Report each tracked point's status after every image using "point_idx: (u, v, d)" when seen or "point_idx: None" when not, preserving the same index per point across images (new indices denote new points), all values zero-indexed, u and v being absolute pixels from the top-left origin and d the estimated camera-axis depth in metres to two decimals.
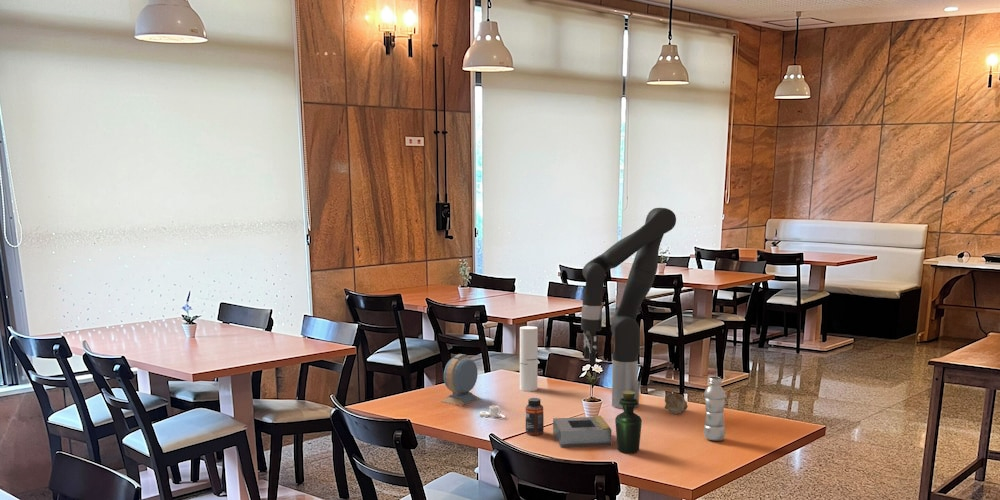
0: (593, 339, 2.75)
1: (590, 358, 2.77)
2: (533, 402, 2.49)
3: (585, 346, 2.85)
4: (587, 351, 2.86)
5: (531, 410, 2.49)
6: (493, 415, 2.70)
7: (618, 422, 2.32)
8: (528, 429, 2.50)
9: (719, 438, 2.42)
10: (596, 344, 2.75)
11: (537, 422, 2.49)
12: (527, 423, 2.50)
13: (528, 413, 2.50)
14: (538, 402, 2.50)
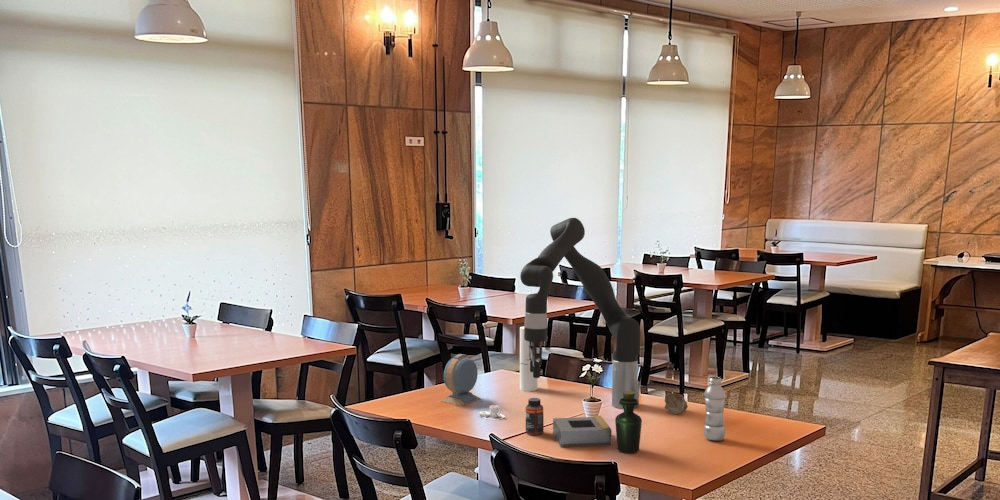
0: (536, 351, 2.45)
1: (534, 372, 2.48)
2: (533, 402, 2.50)
3: (530, 358, 2.56)
4: (533, 364, 2.57)
5: (531, 410, 2.49)
6: (493, 415, 2.70)
7: (618, 422, 2.32)
8: (528, 429, 2.50)
9: (719, 438, 2.42)
10: (539, 356, 2.46)
11: (537, 422, 2.49)
12: (527, 423, 2.50)
13: (528, 413, 2.50)
14: (538, 402, 2.50)
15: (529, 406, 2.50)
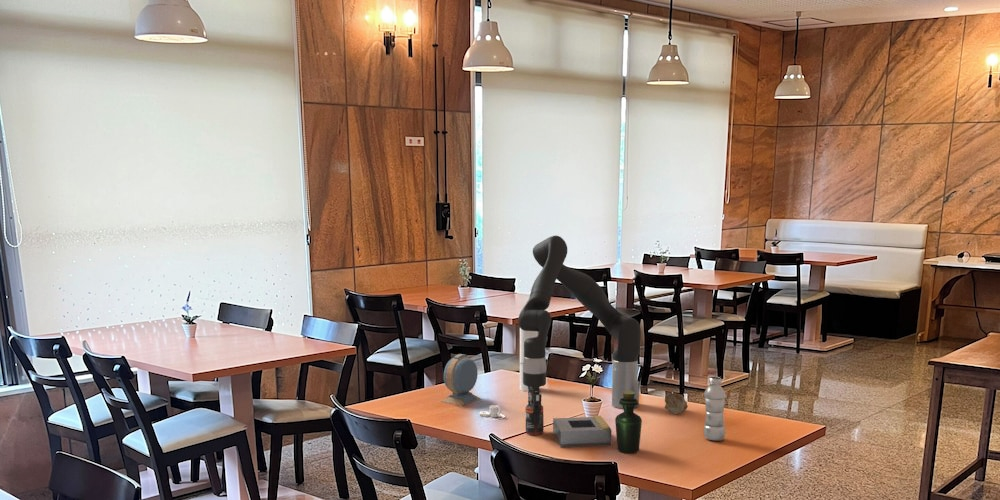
0: (535, 399, 2.45)
1: (533, 418, 2.48)
2: None
3: None
4: None
5: (531, 410, 2.49)
6: (493, 415, 2.70)
7: (618, 422, 2.32)
8: (528, 429, 2.50)
9: (719, 438, 2.42)
10: (539, 404, 2.45)
11: None
12: (527, 423, 2.50)
13: (528, 413, 2.50)
14: None
15: (529, 406, 2.50)
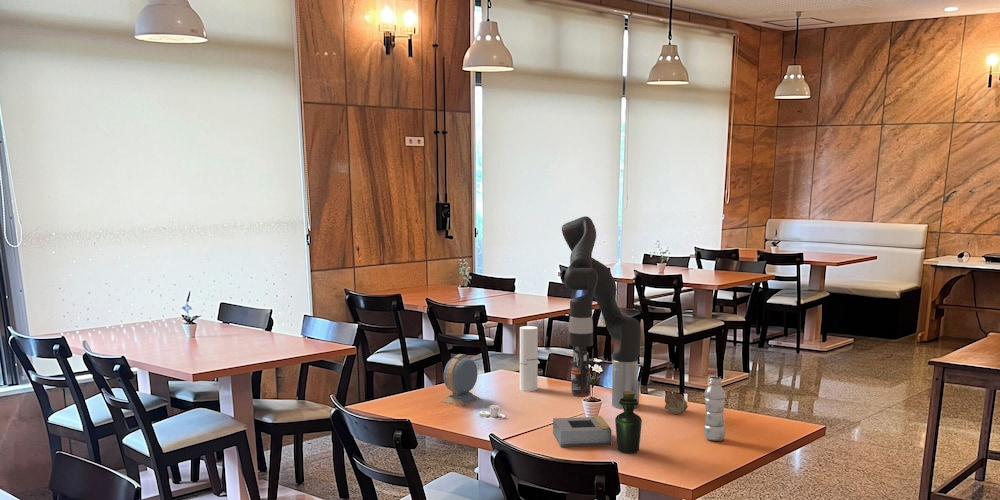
0: (583, 359, 2.37)
1: (580, 379, 2.41)
2: None
3: None
4: None
5: (577, 371, 2.42)
6: (493, 415, 2.70)
7: (618, 422, 2.32)
8: (575, 391, 2.43)
9: (719, 438, 2.42)
10: (586, 364, 2.38)
11: None
12: (573, 385, 2.43)
13: (574, 374, 2.42)
14: None
15: (575, 367, 2.43)
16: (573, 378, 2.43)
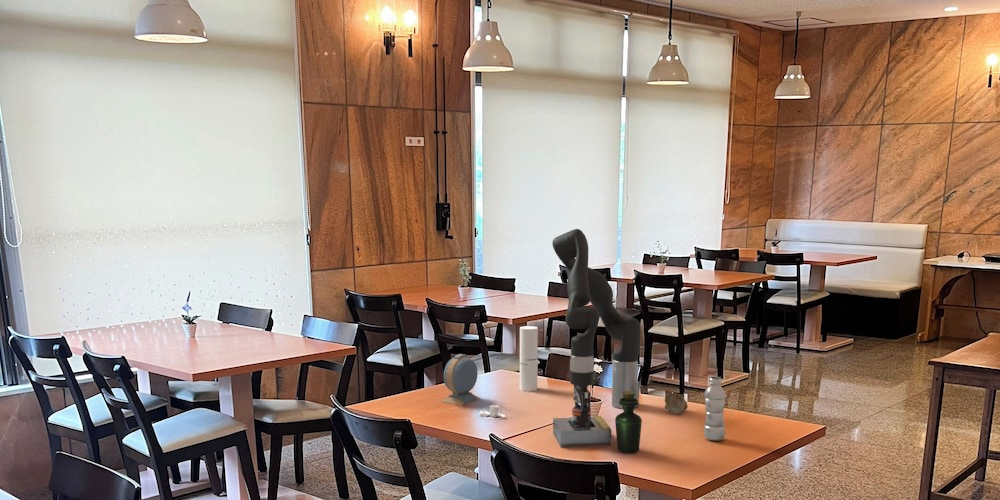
0: (584, 396, 2.38)
1: (582, 417, 2.40)
2: None
3: None
4: None
5: (578, 412, 2.42)
6: (493, 415, 2.70)
7: (618, 422, 2.32)
8: None
9: (719, 438, 2.42)
10: (588, 401, 2.38)
11: (584, 425, 2.43)
12: (574, 426, 2.44)
13: (575, 415, 2.43)
14: None
15: (576, 408, 2.44)
16: (574, 419, 2.44)
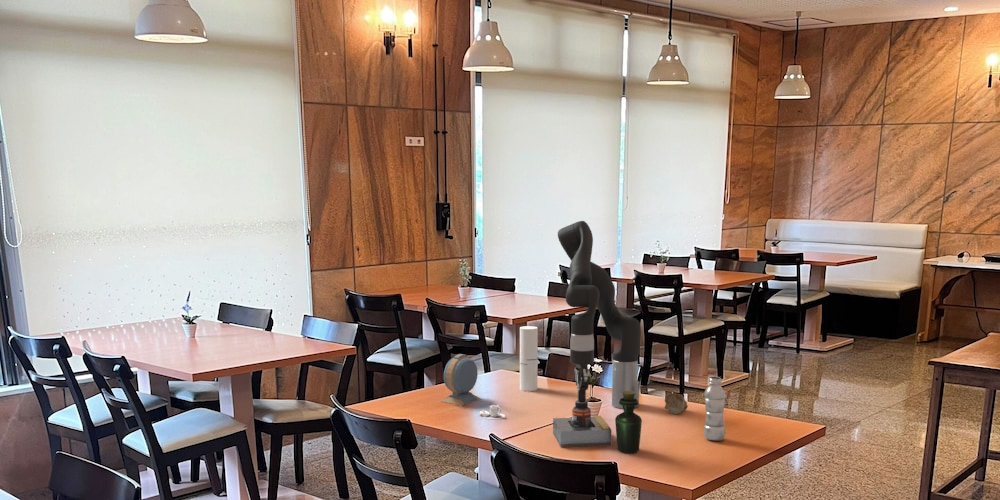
0: (583, 381, 2.39)
1: (579, 396, 2.44)
2: (580, 404, 2.43)
3: None
4: None
5: (578, 412, 2.42)
6: (493, 414, 2.70)
7: (618, 422, 2.32)
8: None
9: (719, 438, 2.42)
10: (586, 384, 2.40)
11: (584, 425, 2.43)
12: (574, 426, 2.44)
13: (575, 415, 2.43)
14: (585, 404, 2.43)
15: (576, 408, 2.44)
16: (574, 419, 2.44)
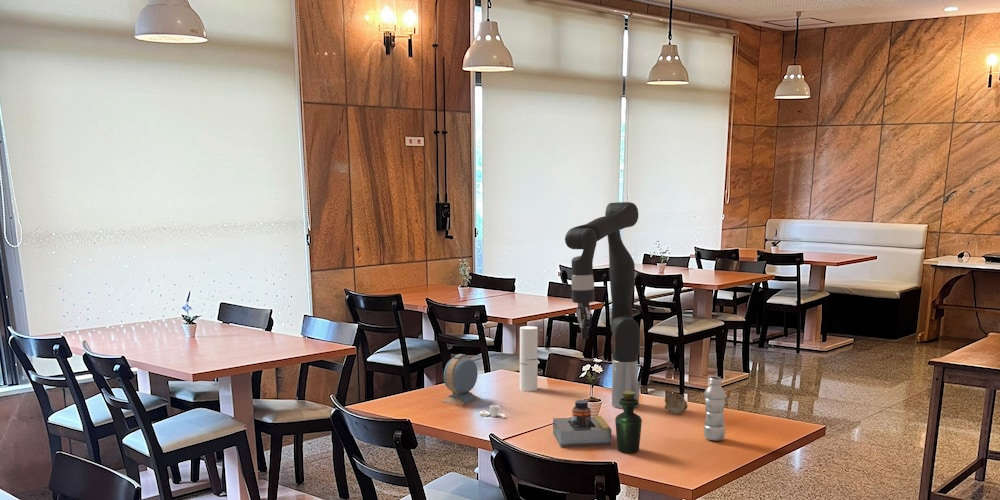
0: (586, 318, 2.52)
1: (582, 334, 2.57)
2: (580, 404, 2.43)
3: None
4: None
5: (578, 412, 2.42)
6: (493, 414, 2.70)
7: (618, 422, 2.32)
8: None
9: (719, 438, 2.42)
10: (589, 321, 2.53)
11: (584, 425, 2.43)
12: (574, 426, 2.44)
13: (575, 415, 2.43)
14: (585, 404, 2.43)
15: (576, 408, 2.44)
16: (574, 419, 2.44)
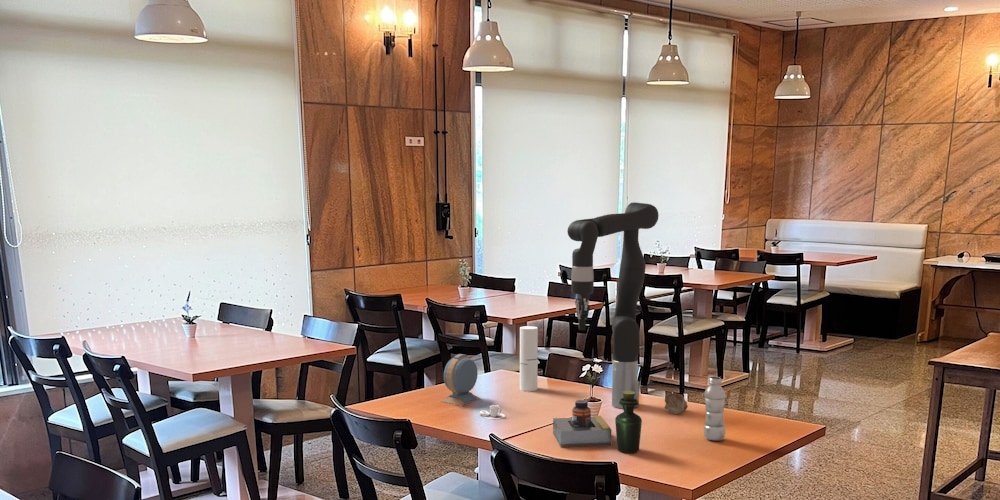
0: (584, 309, 2.56)
1: (580, 324, 2.62)
2: (580, 404, 2.43)
3: None
4: None
5: (578, 412, 2.42)
6: (493, 414, 2.70)
7: (618, 422, 2.32)
8: None
9: (719, 438, 2.42)
10: (586, 312, 2.58)
11: (584, 425, 2.43)
12: (574, 426, 2.44)
13: (575, 415, 2.43)
14: (585, 404, 2.44)
15: (576, 408, 2.44)
16: (574, 419, 2.44)
